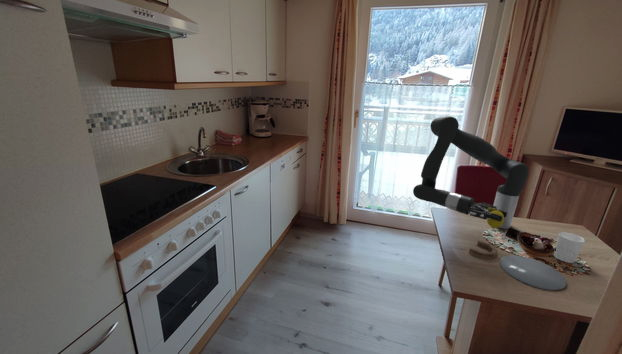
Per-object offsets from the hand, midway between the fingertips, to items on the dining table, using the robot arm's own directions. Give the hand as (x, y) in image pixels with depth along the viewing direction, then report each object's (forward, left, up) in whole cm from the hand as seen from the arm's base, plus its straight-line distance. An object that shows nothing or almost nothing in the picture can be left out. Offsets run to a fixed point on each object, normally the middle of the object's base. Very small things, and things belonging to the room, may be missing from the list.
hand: (504, 217), depth 110 cm
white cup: (-22, +20, -18) cm, 35 cm away
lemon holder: (0, -4, -18) cm, 18 cm away
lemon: (0, -3, -6) cm, 7 cm away
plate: (+1, +13, -18) cm, 22 cm away
